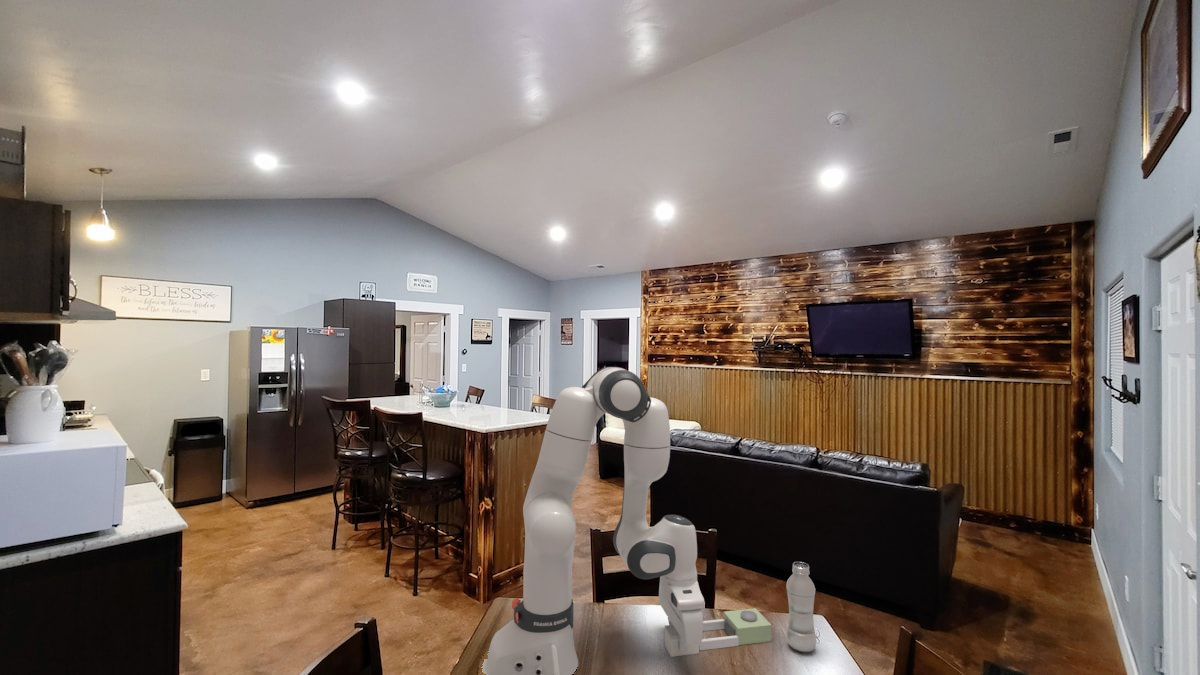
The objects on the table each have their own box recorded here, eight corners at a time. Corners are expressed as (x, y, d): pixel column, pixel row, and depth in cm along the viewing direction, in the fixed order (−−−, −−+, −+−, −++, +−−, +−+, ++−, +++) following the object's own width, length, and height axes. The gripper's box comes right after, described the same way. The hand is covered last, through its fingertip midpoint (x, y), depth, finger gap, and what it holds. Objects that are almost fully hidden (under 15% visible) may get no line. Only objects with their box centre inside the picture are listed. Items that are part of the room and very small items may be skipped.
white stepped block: (671, 656, 116) (671, 636, 116) (664, 645, 121) (664, 625, 121) (699, 653, 118) (699, 632, 118) (691, 642, 122) (691, 622, 122)
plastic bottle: (819, 658, 116) (818, 572, 117) (788, 654, 117) (788, 569, 118) (813, 642, 122) (812, 560, 123) (784, 638, 124) (784, 558, 124)
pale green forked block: (699, 650, 119) (699, 630, 119) (686, 630, 127) (686, 611, 127) (772, 641, 123) (772, 622, 123) (754, 623, 131) (754, 604, 131)
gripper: (652, 567, 129) (652, 620, 129) (680, 607, 109) (680, 671, 109) (676, 565, 130) (675, 618, 130) (707, 604, 110) (707, 667, 110)
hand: (678, 642), depth 119 cm, fingers closed on white stepped block, 4 cm apart
